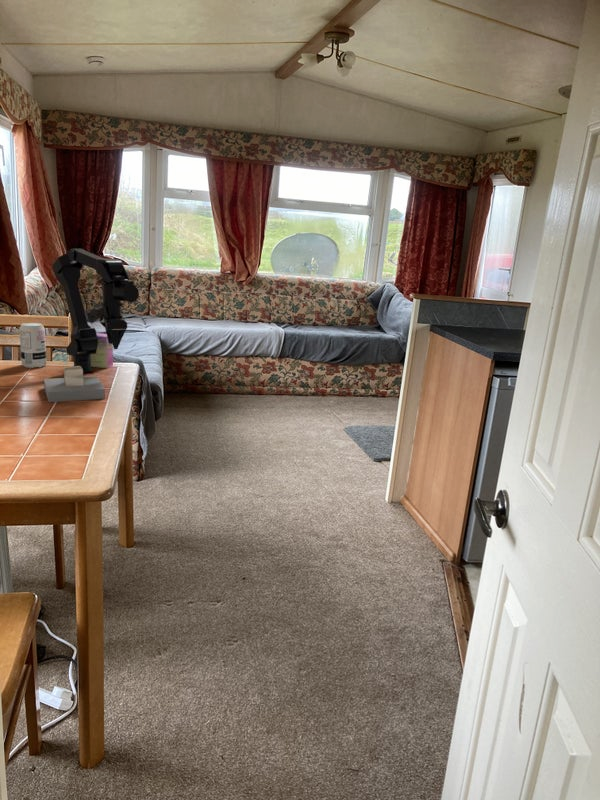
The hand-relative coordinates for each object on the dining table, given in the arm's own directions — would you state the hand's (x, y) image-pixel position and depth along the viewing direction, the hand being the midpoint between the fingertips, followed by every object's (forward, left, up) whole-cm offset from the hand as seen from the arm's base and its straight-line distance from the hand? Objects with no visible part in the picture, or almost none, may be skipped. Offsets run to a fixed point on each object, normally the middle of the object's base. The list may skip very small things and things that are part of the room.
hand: (113, 346), depth 201 cm
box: (-24, -2, -12) cm, 27 cm away
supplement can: (-28, -23, -12) cm, 38 cm away
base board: (+12, -14, -12) cm, 22 cm away
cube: (+12, -14, -9) cm, 20 cm away
